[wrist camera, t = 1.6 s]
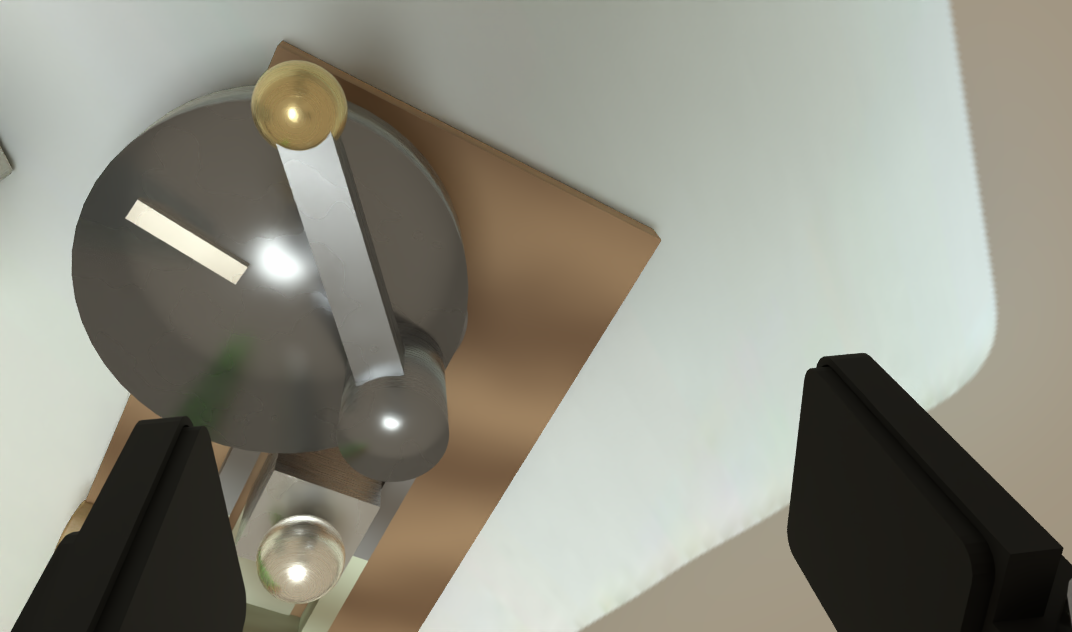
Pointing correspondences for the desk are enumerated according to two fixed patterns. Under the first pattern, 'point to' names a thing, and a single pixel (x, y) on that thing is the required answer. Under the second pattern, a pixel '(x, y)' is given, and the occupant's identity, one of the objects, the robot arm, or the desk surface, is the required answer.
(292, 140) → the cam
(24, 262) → the desk surface
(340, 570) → the block with glass ball
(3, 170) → the skincare box
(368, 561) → the stand
